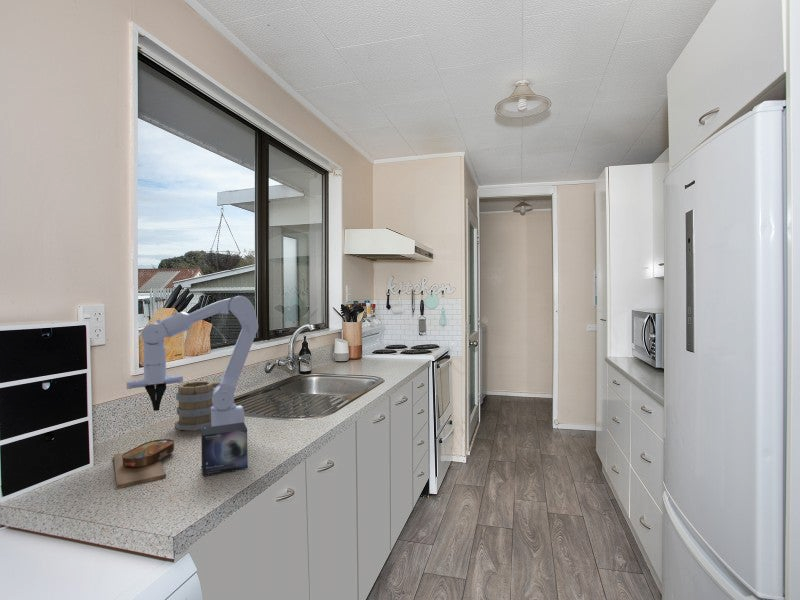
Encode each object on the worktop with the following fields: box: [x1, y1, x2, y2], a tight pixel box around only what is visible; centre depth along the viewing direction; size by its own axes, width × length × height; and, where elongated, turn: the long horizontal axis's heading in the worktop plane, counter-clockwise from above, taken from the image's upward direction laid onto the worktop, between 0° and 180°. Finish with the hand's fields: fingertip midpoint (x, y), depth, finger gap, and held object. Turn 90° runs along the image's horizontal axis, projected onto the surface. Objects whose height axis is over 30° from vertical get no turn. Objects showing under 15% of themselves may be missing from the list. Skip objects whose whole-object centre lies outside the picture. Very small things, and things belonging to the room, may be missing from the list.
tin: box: [122, 438, 175, 467], centre depth 119 cm, size 15×3×8 cm
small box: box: [200, 422, 249, 477], centre depth 113 cm, size 11×6×10 cm, turn 117°
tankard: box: [174, 380, 221, 432], centre depth 154 cm, size 20×13×15 cm, turn 132°
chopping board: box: [113, 451, 167, 489], centre depth 115 cm, size 10×24×1 cm, turn 34°
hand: (156, 410), depth 132 cm, fingers closed
